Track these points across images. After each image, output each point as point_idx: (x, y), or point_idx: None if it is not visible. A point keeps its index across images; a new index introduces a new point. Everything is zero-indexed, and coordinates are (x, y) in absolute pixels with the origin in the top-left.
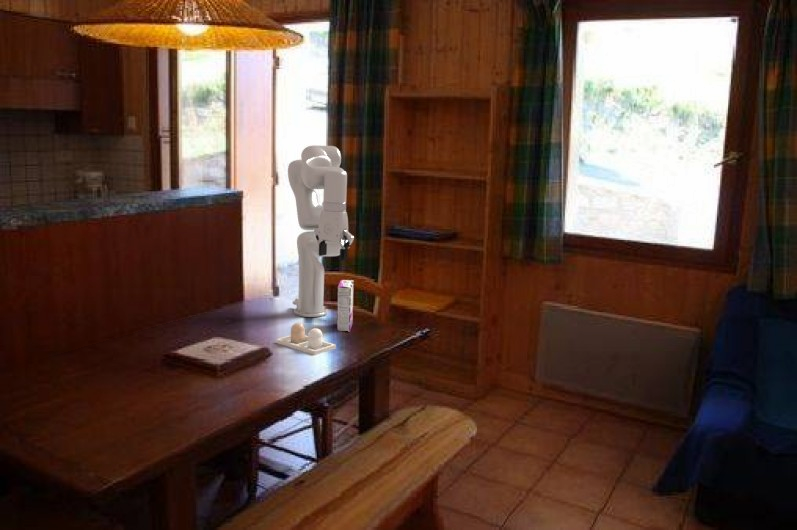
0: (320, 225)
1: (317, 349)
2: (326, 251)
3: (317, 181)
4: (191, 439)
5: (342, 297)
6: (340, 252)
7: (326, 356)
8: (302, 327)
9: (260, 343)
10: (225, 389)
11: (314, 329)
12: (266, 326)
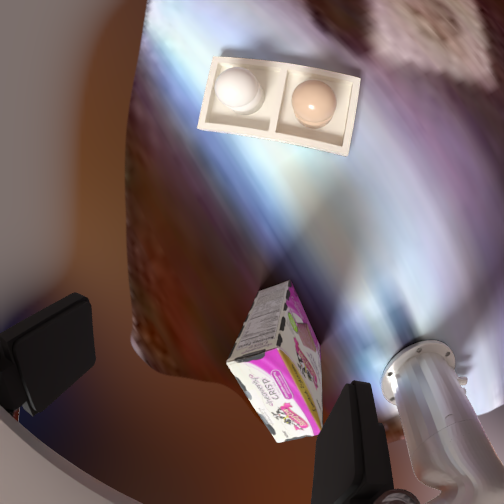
0: None
1: (215, 69)
2: (315, 458)
3: None
4: None
5: (263, 330)
6: (31, 322)
7: (199, 84)
8: (294, 95)
9: (397, 78)
10: None
11: (230, 74)
12: (467, 217)
